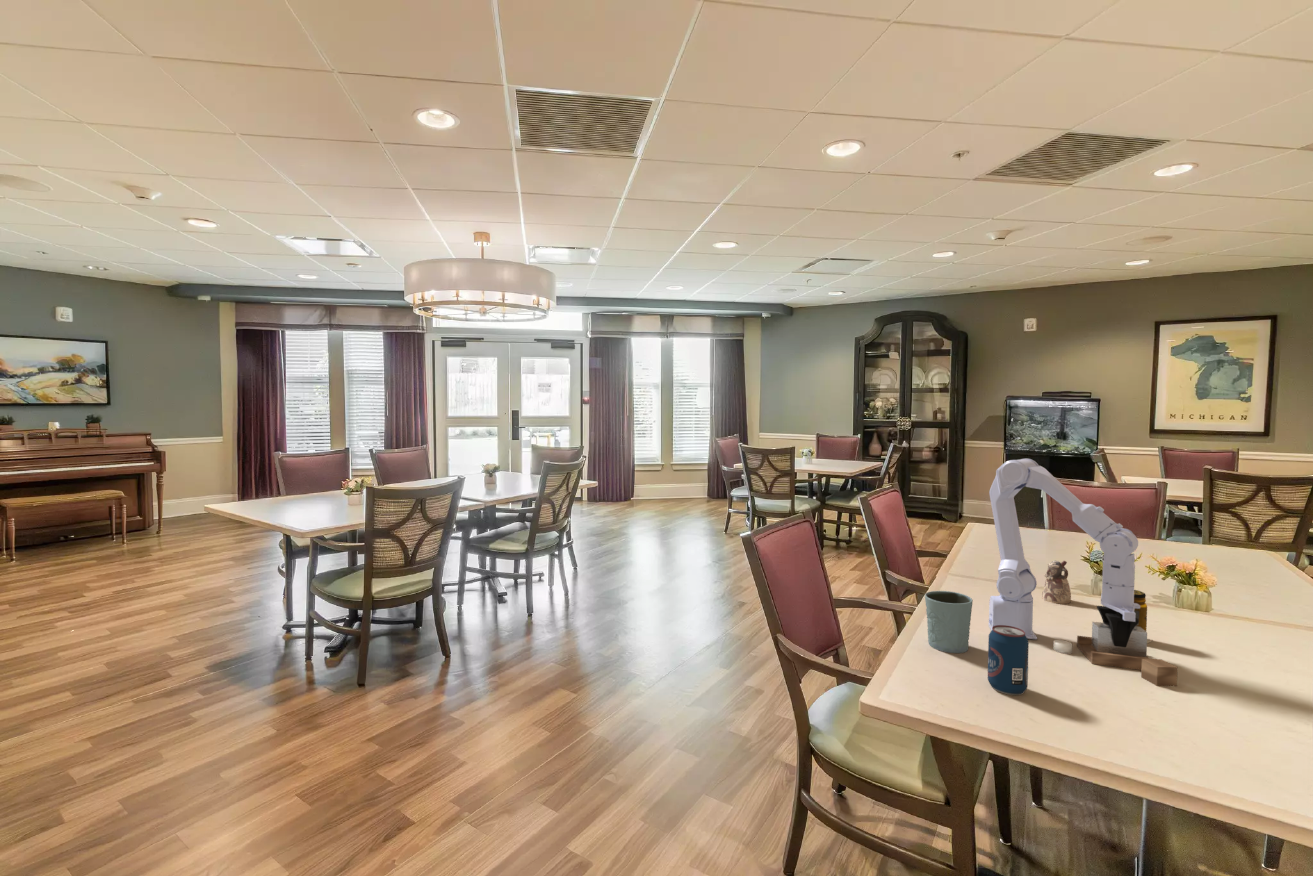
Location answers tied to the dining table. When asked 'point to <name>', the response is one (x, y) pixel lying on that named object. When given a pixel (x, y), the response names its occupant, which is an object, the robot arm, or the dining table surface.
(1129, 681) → the dining table surface
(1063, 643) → the plastic cap
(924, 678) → the dining table surface
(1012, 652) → the soda can
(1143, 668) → the walnut block
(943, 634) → the green embossed planter
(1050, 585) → the figurine
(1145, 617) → the condiment
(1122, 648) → the block
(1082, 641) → the stand
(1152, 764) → the dining table surface
